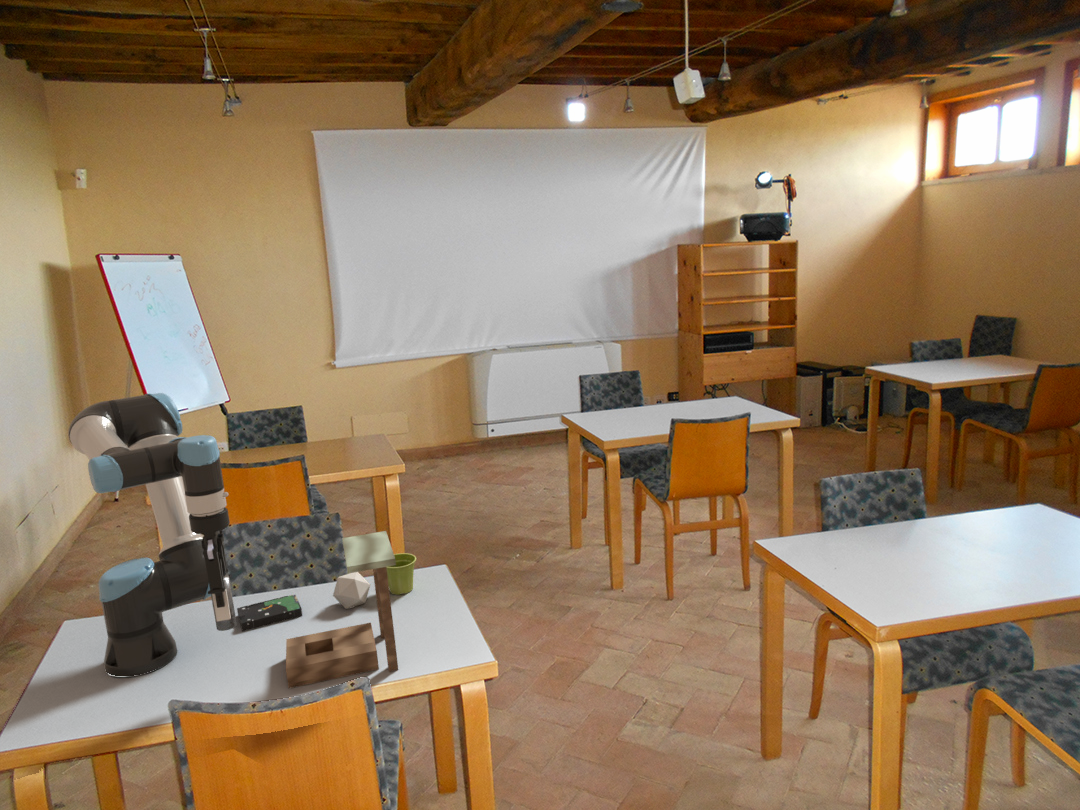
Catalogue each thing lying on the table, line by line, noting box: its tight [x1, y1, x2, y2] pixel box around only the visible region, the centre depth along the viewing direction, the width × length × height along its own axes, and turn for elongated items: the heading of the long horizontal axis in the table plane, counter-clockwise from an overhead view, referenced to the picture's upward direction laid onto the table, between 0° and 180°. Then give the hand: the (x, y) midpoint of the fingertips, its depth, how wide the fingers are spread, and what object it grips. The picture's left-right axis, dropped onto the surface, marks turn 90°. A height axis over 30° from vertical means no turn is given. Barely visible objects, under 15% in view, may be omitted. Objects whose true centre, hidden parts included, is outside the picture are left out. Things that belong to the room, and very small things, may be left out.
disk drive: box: [236, 594, 303, 632], centre depth 201 cm, size 10×3×15 cm
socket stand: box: [285, 530, 399, 689], centre depth 174 cm, size 25×18×26 cm
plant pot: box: [387, 552, 417, 596], centre depth 210 cm, size 9×9×9 cm
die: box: [332, 572, 371, 610], centre depth 204 cm, size 8×9×10 cm
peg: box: [210, 573, 238, 632], centre depth 166 cm, size 4×4×11 cm
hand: (224, 614), depth 167 cm, fingers closed on peg, 4 cm apart
